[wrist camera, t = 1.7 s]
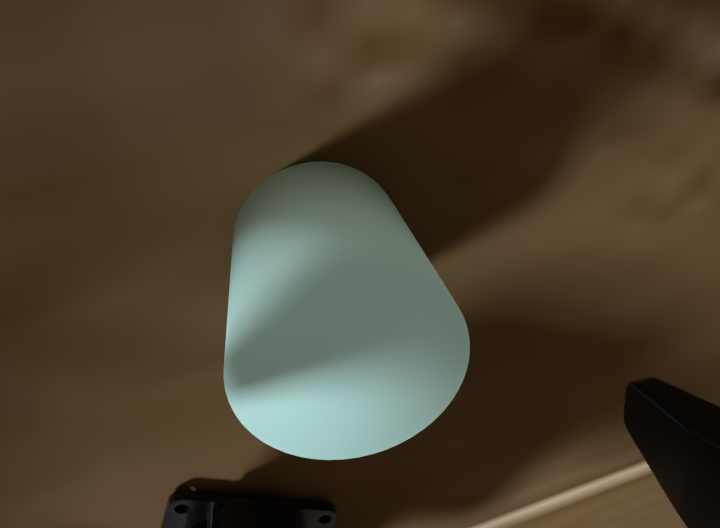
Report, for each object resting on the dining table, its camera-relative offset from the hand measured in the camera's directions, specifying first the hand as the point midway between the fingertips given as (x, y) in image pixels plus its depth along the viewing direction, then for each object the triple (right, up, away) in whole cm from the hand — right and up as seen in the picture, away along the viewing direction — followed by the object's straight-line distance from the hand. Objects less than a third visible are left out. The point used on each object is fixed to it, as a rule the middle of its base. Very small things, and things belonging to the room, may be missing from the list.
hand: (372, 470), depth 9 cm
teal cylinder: (-1, +4, +7) cm, 8 cm away
